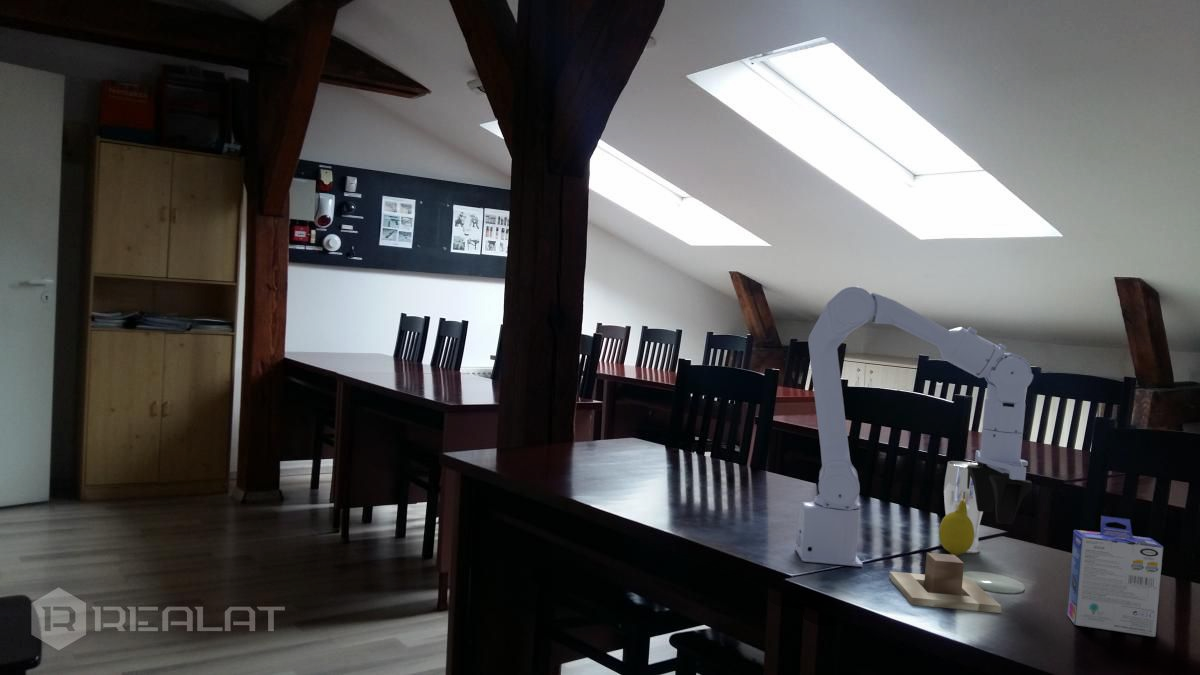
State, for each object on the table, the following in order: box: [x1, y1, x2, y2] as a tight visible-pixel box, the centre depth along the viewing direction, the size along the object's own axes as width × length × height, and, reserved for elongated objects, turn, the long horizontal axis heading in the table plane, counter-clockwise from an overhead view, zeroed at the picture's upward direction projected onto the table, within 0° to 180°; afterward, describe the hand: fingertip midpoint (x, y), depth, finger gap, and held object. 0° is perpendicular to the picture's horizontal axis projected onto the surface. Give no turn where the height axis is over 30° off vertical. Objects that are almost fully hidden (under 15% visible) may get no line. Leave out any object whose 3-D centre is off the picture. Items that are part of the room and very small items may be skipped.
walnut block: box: [923, 552, 965, 596], centre depth 124 cm, size 4×4×6 cm
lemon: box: [938, 510, 974, 557], centre depth 146 cm, size 6×6×8 cm
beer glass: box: [943, 460, 984, 554], centre depth 151 cm, size 7×7×15 cm
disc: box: [963, 571, 1025, 594], centre depth 132 cm, size 9×9×1 cm
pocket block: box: [888, 570, 1002, 614], centre depth 124 cm, size 12×12×1 cm
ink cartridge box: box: [1067, 515, 1164, 638], centre depth 116 cm, size 10×6×14 cm, turn 74°
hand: (994, 517), depth 133 cm, fingers open, 7 cm apart
